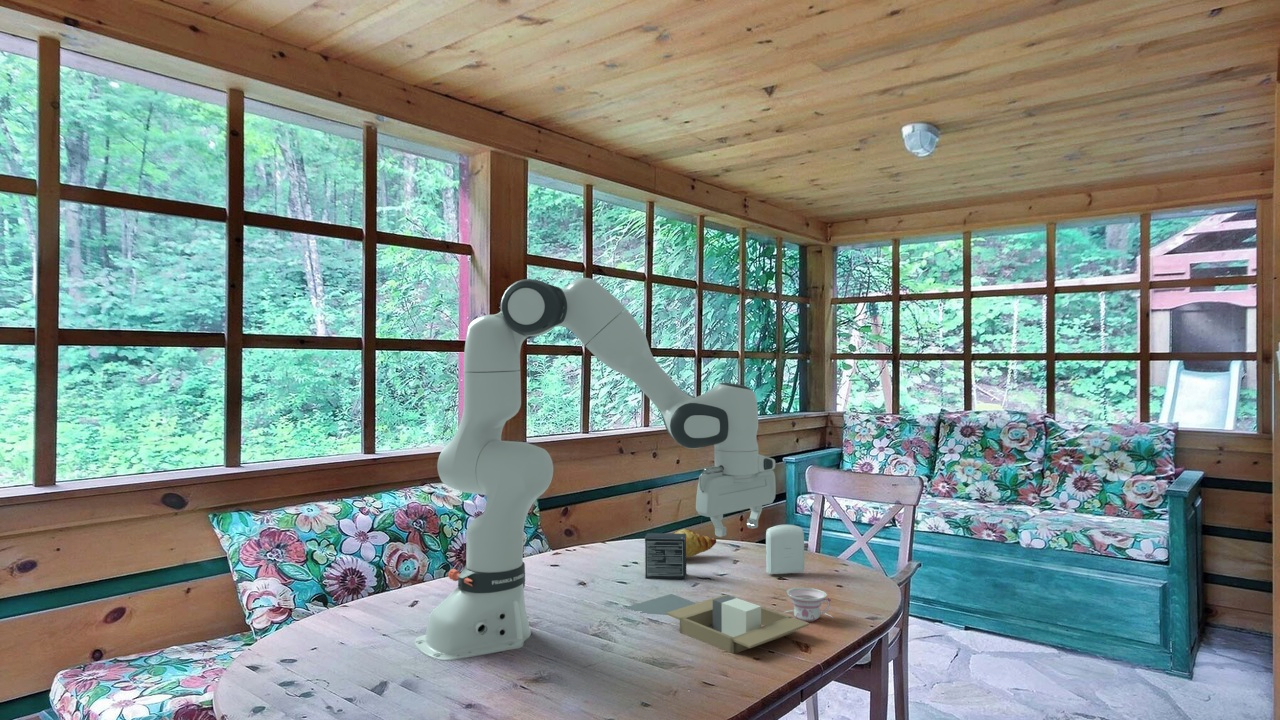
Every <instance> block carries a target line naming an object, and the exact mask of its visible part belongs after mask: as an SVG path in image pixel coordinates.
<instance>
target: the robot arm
mask: <svg viewBox="0 0 1280 720" xmlns="http://www.w3.org/2000/svg"><path fill="white" fill-rule="evenodd" d="M555 327H564V328H566V329H567V330H568V331H570V332H571V333H572V334H573V335H575V336H576V337H577V339H579V341H580V343H582V344H583V346H585V348H586V349H587V350H589V352H590V353H591V354H592V355H593V356H595V357H596V358H597V359H598V360H599V361H600V362H602V363H603V364H604V365H605V366H607V367H608V368H610V369H611V370H613V371H615V372H616V373H617V372H618V373H619V374H622V375H623V376H625V377H626V378H628V379H629V380H631V381H632V382H633V383H634V384H635V385H636V386H637V387H638V388H639V389H640V390H641V391H642V392H643V394H644V395H645V396H646V397H647V398H648V399H649V400H650V401H651V402H652V404H653V405H654V406H655V407H656V408H657V409H658V411H659V413H660V414H661V417H662V420H663V423H664V426H665V430H666V431H667V433H668V435H670V436H671V438H672V439H674V441H675V442H676V443H678V445H680V446H681V447H684V448H686V449H691V450H696V449H701V448H705V447H710V446H714V447H713V448H714V450H713V452H714V453H713V454H714V466H713V467H707V468H704V469H703V471H702V472H701V473H700V475H698V476H699V477H698V484H697V488H696V490H697V491H696V497H695V510H696V512H697V514H698V515H699V516H702V517H703V516H704V517H706V518H710V520H711V523H712V524H713V527H714V534H715V536H716V537H719V538H722V537H725V536H727V535H728V533H727V529H728V528H727V526H724V524H723V523H722V520H723V519H724V515H727V514H730V513H735V512H738V511H745V510H748V509H749V510H750V515H749V518H747V519H746V527H747V528H748V529H751V530H752V529H757V528H758V527H759V520H760V516H761V514H762V512H763V506H766V505H770V504H772V503H773V502H774V500H775V499H776V492H777V490H776V486H777V484H776V483H777V482H776V474H775V471H774V469H776V460H775V459H774V458H772V457H768V456H765V455H763V454H759V453H760V451H759V444H758V441H757V435H758V434H757V433H758V431H759V407H758V402H757V395H756V394H755V393H756V392H754V390H753V389H752V388H750V387H749V386H747V385H742V384H738V383H731V382H719V383H718V384H716V386H714V387H713V388H712V389H710V390H708V391H706V392H704V393H703V394H702V393H701V394H700V395H698V396H693V395H691V394H689V393H687V392H685V391H684V390H682V388H680V387H679V386H678V385H677V384H676V383H675V382H674V380H672V378H671V377H670V376H669V375H668V374H667V373H666V372H665V370H664V369H663V368H662V367H661V366H660V365H659V363H658V361H656V358H655V357H654V356H653V353H652V352H651V348H650V346H649V342H648V339H647V336H646V334H645V333H644V331H643V329H642V327H641V326H640V325H639V323H638V321H637V320H636V319H635V317H634V316H633V315H632V314H631V312H630V311H629V310H628V309H627V308H626V307H625V306H624V305H623V303H621V302H620V301H619V300H618V299H617V297H615V296H614V295H613V294H612V293H611V292H609V290H607V289H606V287H604V286H602V285H601V284H600V283H598V282H597V281H596V280H594V279H592V278H590V277H582V278H578V279H575V280H573V281H572V282H570V283H568V285H567V286H565V287H564V288H561V287H558V286H556V285H552V284H550V283H546V282H545V281H541V280H537V279H533V278H530V279H529V278H525V279H521V280H518V281H515V282H514V283H512V284H511V285H510V286H508V287H507V288H506V290H505V291H504V293H503V295H502V297H501V301H500V311H499V312H498V313H495V314H486V315H482V316H479V317H477V318H475V319H473V320H472V321H471V322H470V323H469V324H468V327H467V330H466V337H465V341H464V342H465V344H464V354H463V410H462V415H461V420H460V422H459V426H458V428H457V430H456V432H455V434H454V436H453V438H452V439H451V440H450V441H449V442H448V443H447V444H446V445H445V446H444V447H443V448H442V449H441V452H440V454H439V456H438V459H437V474H438V476H439V477H438V478H439V479H440V480H441V482H442V484H444V485H445V486H447V487H450V488H452V489H454V490H457V491H459V492H462V493H466V494H476V495H483V496H486V504H485V508H484V511H483V512H482V514H480V515H479V516H477V517H476V518H474V519H473V520H472V521H470V523H469V524H468V526H467V528H466V532H465V533H466V536H465V538H466V539H465V540H466V541H465V542H466V543H465V544H466V547H465V548H466V549H465V551H466V552H465V553H466V554H465V555H466V557H465V558H466V563H465V565H464V567H463V570H462V571H461V572H460V571H459V570H457V569H456V568H450V570H449V572H448V574H447V577H448V578H449V579H450V580H452V582H453V581H454V582H457V587H455V589H454V590H453V591H452V592H451V593H449V595H448V596H447V597H445V599H443V600H442V602H440V603H439V604H438V605H437V606H436V607H435V608H433V610H432V611H431V612H430V614H429V616H428V619H427V624H426V631H425V634H423V635H420V636H418V637H416V638H415V640H414V647H415V649H416V650H417V651H418V652H419V653H421V654H422V655H424V656H425V657H428V658H431V659H434V660H438V661H445V662H448V661H454V660H459V659H465V658H471V657H477V656H482V655H489V654H494V653H498V652H504V651H509V650H510V651H511V650H517V649H521V648H522V647H523V646H524V644H525V641H526V640H528V638H530V637H531V636H532V635H531V634H532V629H531V627H530V624H529V619H528V614H527V608H526V603H525V602H526V601H525V592H524V589H525V585H526V564H525V562H524V561H523V560H524V559H523V557H524V555H523V553H524V530H525V529H524V528H525V525H526V521H527V520H526V519H527V516H528V513H529V511H530V509H531V507H532V505H533V504H534V502H535V501H536V500H537V499H538V498H539V497H541V496H542V495H543V494H544V493H545V492H546V491H547V490H548V488H549V487H550V485H551V482H552V480H553V477H554V464H553V460H552V457H551V455H550V454H549V452H548V451H547V450H546V449H545V448H543V447H540V446H539V445H538V446H537V445H535V444H532V443H527V442H525V441H510V440H502V434H503V433H502V432H503V430H504V427H505V425H506V423H507V421H509V420H511V419H512V418H514V417H515V416H516V415H517V414H518V413H519V411H520V409H521V406H522V384H521V381H522V380H521V349H522V344H523V343H524V341H526V340H529V339H532V338H535V337H539V336H540V337H541V336H543V335H545V334H547V333H549V332H551V331H552V330H553V329H554V328H555Z"/></svg>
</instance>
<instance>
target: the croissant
mask: <svg viewBox="0 0 1280 720" xmlns="http://www.w3.org/2000/svg"><path fill="white" fill-rule="evenodd" d="M673 534H686V558H689V557H694V556H696V555H698V554H701V553H704V552H706V551H708V550H710V549H712V548H713V547H714V546H715V545H716V543H717V539H716V538H715V537H709V536H707V535H701V534H699V533H695V532H694V531H693V530H690V529H685V528H683V529H678V530H677V531H676V532H674V533H673Z"/></svg>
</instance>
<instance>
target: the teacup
mask: <svg viewBox="0 0 1280 720" xmlns="http://www.w3.org/2000/svg"><path fill="white" fill-rule="evenodd" d="M786 594H787V595H788V597H789V598H790V599H791V603H792V604H793V609H791V610H785V611H784V612H780V613H781V614H786V613H788V612H793V617H794V618H796V619H799V620H802V621H805V622H808V623H810V622H815V621H816V620H818V619H819V618H820V617H821V616H820V615H827V616H829V617H831V618H833V616H832V615H831V614H828V613H827V611H828V610H829V608H830V606H831V601H832V599H830V598H826V597H827V596H828V594H827V592H826V591H823V590H820V589H817V588H812V587H802V586H801V587H792V588H789V589H787V590H786ZM825 602H827V603H828V604H827V606H826V607H825V609H824V610H822V611H821V609H820V607H821V606H822V604H823V603H825Z"/></svg>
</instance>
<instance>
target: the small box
mask: <svg viewBox="0 0 1280 720" xmlns="http://www.w3.org/2000/svg"><path fill="white" fill-rule="evenodd" d="M644 546H645V547H644V549H645V550H644V552H645V553H644V556H645V558H644V561H645V564H644V565H645V566H644V567H645V574H644V578H645V580H649V579H650V580H652V579H654V580H655V579H656V580H658V579H659V580H686V579H687V557H686V534H674V533H670V532H669V533H664V532H663V533H658V532H656V533H654V532H647V533H646V535H645V537H644Z"/></svg>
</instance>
